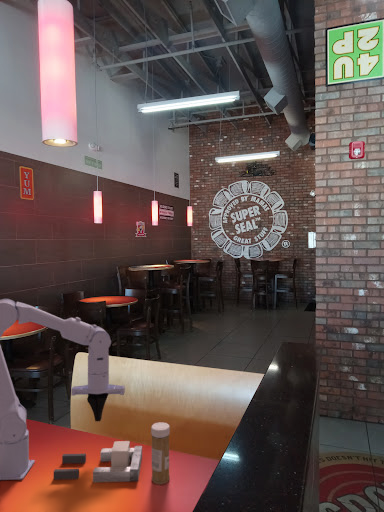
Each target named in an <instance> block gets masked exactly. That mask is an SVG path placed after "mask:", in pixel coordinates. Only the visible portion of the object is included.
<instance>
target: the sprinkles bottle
mask: <svg viewBox="0 0 384 512" xmlns="http://www.w3.org/2000/svg"><path fill="white" fill-rule="evenodd" d="M170 427H171V426H170V424H168V423H167V422H159V421H158V422H155V423H153V424H152V425H151V428H150V431H151V432H150V434H151V481H152V482H153V483H154V484H156V485H164V484H167V483H168V482H169V481H170V479H171V477H170V434H171V433H170V431H171V429H170Z"/></svg>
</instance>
